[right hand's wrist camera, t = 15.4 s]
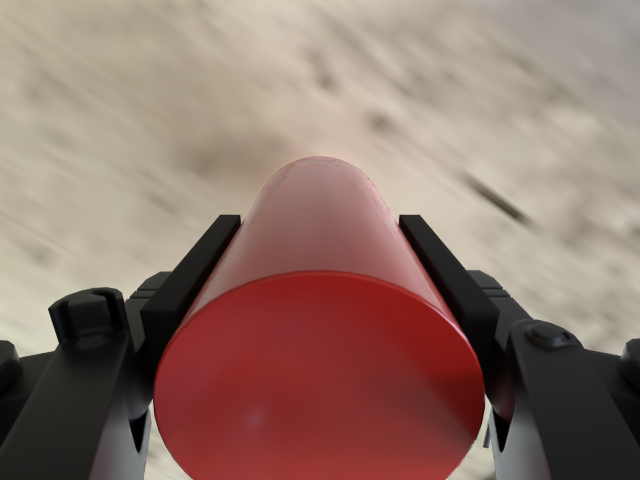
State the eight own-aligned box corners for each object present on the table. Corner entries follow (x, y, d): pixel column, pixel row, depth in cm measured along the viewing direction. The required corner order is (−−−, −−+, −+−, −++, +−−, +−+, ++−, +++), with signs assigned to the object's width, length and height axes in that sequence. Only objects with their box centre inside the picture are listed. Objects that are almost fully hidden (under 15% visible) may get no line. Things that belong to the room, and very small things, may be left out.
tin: (297, 129, 15) (248, 198, 5) (409, 201, 17) (560, 378, 6) (233, 240, 17) (102, 457, 7) (338, 297, 18) (362, 557, 8)
